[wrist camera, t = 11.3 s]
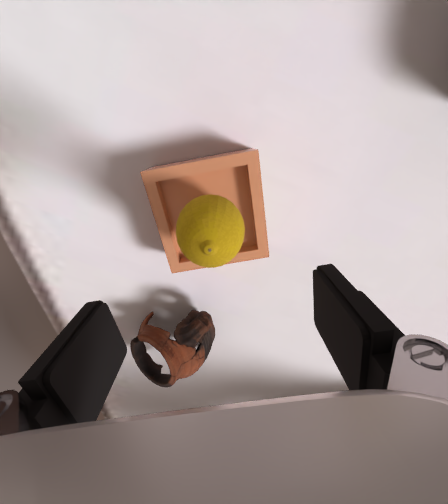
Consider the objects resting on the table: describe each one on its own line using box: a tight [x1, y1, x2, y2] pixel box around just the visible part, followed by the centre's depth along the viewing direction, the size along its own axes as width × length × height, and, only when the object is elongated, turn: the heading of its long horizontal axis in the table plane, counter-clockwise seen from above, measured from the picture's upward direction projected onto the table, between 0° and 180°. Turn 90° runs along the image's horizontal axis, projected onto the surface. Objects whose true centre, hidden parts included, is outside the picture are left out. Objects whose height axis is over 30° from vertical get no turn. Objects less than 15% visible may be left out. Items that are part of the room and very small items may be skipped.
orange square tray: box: [140, 148, 269, 273], centre depth 24 cm, size 10×10×4 cm
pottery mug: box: [131, 310, 215, 387], centre depth 30 cm, size 12×10×8 cm
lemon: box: [176, 194, 245, 268], centre depth 19 cm, size 6×6×8 cm
